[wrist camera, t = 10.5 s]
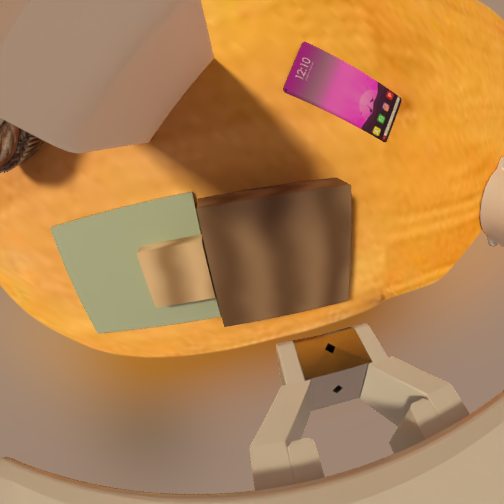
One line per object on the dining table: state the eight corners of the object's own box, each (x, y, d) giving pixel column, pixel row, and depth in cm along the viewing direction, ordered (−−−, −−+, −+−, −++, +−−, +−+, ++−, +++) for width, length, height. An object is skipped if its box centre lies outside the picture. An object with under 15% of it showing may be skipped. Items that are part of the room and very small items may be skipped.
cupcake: (-3, 160, 25) (-49, 178, 16) (9, 91, 21) (-39, 93, 12) (45, 169, 27) (-1, 191, 18) (60, 94, 24) (12, 91, 15)
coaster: (201, 234, 34) (201, 240, 32) (214, 289, 37) (215, 297, 36) (139, 246, 33) (136, 253, 31) (158, 298, 37) (156, 307, 35)
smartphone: (381, 142, 33) (385, 143, 32) (281, 91, 28) (283, 90, 27) (398, 97, 30) (402, 97, 29) (302, 41, 26) (304, 39, 25)
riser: (336, 177, 33) (350, 185, 30) (337, 285, 41) (347, 300, 37) (198, 198, 32) (196, 209, 29) (222, 308, 40) (224, 326, 36)
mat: (192, 191, 32) (192, 192, 31) (220, 314, 40) (220, 316, 40) (51, 226, 31) (50, 228, 30) (98, 331, 39) (97, 333, 38)
